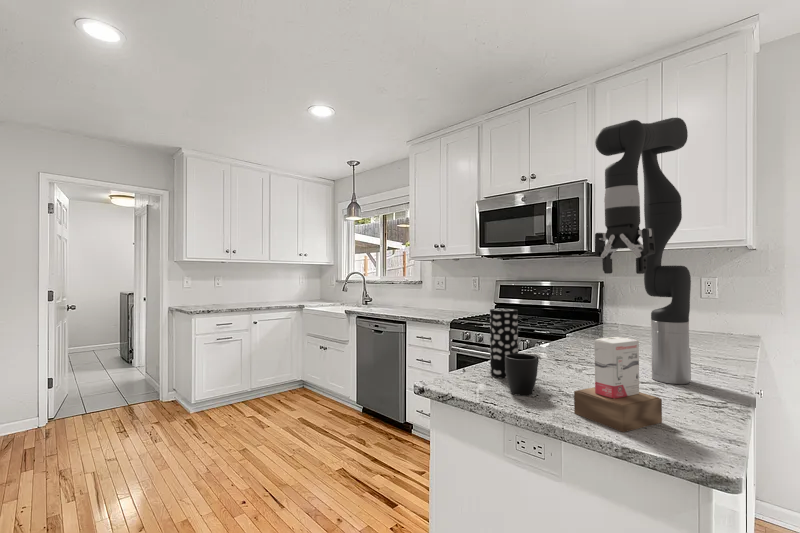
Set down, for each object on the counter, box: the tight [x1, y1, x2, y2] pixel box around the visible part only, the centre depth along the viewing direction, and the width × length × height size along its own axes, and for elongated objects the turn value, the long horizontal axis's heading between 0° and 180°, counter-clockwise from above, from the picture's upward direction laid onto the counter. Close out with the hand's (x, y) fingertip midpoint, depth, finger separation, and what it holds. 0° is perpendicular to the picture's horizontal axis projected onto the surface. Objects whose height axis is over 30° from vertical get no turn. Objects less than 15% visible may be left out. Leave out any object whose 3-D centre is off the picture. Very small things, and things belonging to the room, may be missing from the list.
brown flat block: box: [573, 386, 663, 433], centre depth 90 cm, size 12×12×5 cm
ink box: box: [593, 336, 640, 399], centre depth 90 cm, size 9×5×12 cm, turn 116°
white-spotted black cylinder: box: [489, 308, 519, 380], centre depth 127 cm, size 8×8×20 cm
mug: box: [505, 353, 539, 397], centre depth 110 cm, size 8×12×10 cm
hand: (623, 273), depth 100 cm, fingers open, 8 cm apart
